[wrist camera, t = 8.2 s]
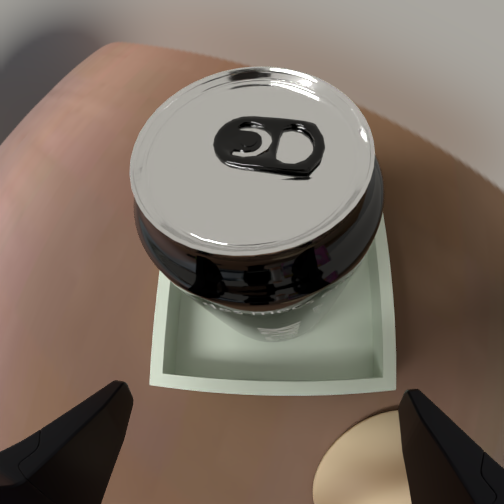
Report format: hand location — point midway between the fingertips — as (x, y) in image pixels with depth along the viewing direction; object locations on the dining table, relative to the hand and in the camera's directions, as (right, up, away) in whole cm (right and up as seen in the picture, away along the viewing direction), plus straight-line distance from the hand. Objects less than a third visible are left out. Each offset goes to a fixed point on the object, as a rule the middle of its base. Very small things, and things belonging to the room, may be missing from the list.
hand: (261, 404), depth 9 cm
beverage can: (+1, +3, +9) cm, 10 cm away
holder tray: (+1, +3, +10) cm, 10 cm away
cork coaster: (+8, -9, +4) cm, 12 cm away
